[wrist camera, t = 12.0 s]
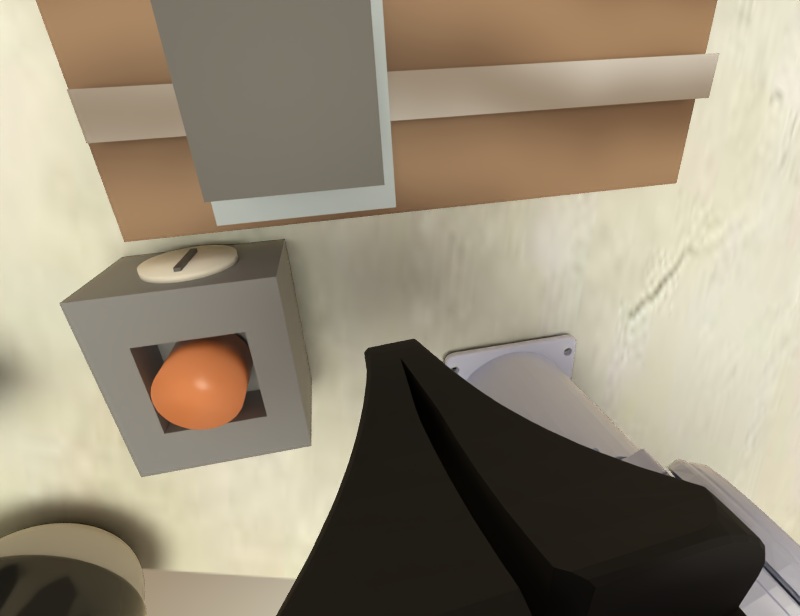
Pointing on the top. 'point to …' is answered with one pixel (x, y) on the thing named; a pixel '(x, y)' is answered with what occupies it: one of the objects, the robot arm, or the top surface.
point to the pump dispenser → (69, 573)
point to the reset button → (203, 382)
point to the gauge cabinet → (192, 319)
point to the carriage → (282, 104)
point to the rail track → (421, 102)
